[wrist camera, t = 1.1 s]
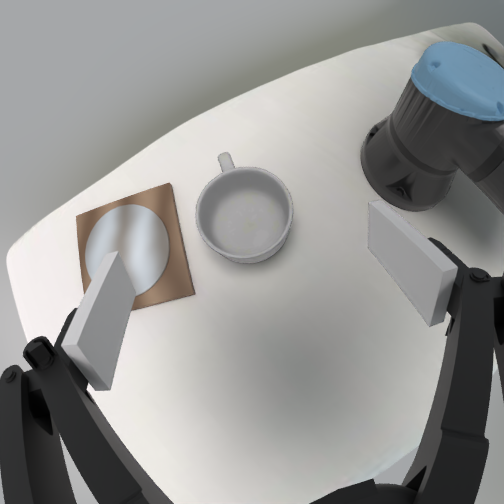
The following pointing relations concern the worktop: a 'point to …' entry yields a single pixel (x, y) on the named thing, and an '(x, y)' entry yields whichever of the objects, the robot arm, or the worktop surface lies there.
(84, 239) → the walnut board
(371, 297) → the worktop surface
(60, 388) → the robot arm
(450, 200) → the worktop surface
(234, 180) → the teacup
